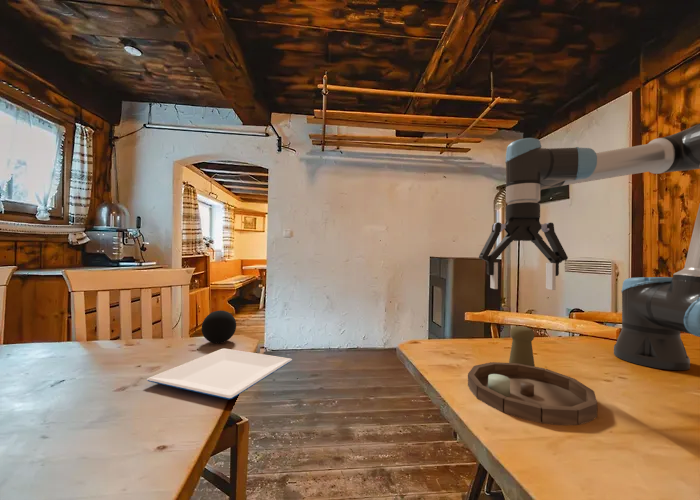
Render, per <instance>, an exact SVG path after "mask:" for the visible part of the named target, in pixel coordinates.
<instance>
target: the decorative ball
mask: <svg viewBox="0 0 700 500" xmlns="http://www.w3.org/2000/svg"><path fill="white" fill-rule="evenodd" d="M236 330H237V321H236V319H235V316H233V314H231V312H229V311H227V310H215V311H212V312H210V313H209V314H208V315H206V316H205V318H204V319H203V321H202V324H201V333H202V335H203V337H204V339H205V340H207V341H208V342H210V343H213V344H223V343H225V342H227V341H229V340H230V339H231V338H232V337H233V336H234V335H235V332H236Z"/></svg>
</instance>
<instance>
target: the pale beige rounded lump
mask: <svg viewBox="0 0 700 500" xmlns="http://www.w3.org/2000/svg"><path fill="white" fill-rule="evenodd" d="M488 388H489V389H491V390H493V391H495V392H497V393H499V394H502V395H504V396H506V397H509V396H510V379H509V378H508V377H506V376H504V375H499V374H490V375H488Z"/></svg>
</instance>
